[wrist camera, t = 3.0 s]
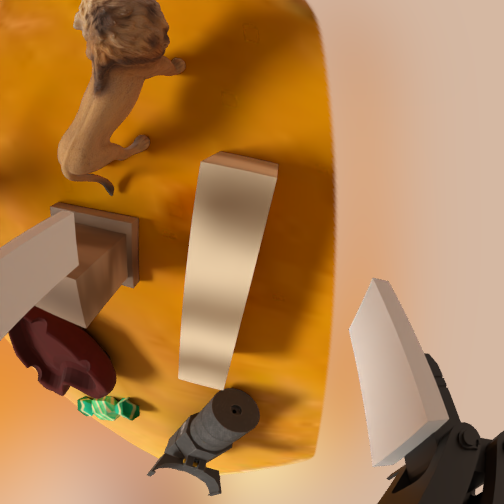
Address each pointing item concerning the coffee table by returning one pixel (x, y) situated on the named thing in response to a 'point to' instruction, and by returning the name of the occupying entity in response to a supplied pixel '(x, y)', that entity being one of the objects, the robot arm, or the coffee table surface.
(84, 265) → the pedestal
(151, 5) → the lion figurine
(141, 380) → the coffee table surface
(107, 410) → the candy
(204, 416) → the laser sight
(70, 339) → the ashtray
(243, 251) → the block
